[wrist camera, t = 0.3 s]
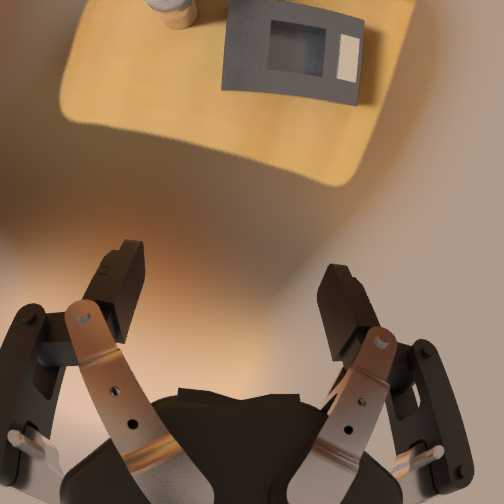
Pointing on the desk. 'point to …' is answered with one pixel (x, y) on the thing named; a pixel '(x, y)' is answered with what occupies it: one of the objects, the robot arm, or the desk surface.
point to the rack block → (292, 51)
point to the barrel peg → (175, 12)
